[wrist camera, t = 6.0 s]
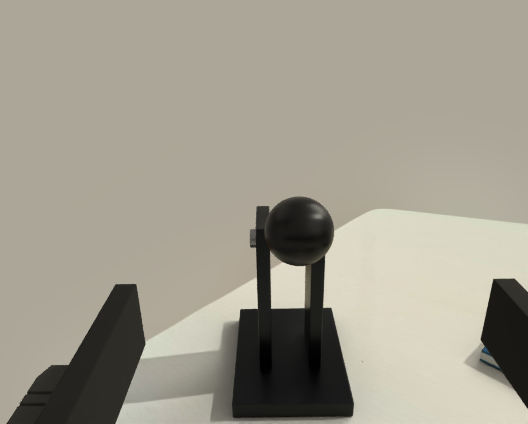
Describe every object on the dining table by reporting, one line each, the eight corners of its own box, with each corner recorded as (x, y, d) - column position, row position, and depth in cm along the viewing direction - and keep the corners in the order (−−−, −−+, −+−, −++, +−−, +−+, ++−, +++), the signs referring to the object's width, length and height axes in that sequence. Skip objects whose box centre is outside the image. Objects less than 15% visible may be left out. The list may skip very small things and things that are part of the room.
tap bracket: (353, 416, 33) (366, 253, 28) (232, 418, 33) (222, 255, 28) (330, 318, 44) (337, 188, 39) (240, 319, 44) (234, 190, 39)
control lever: (340, 266, 21) (337, 191, 21) (264, 267, 21) (263, 192, 21) (311, 260, 35) (310, 215, 35) (266, 261, 35) (265, 216, 35)
